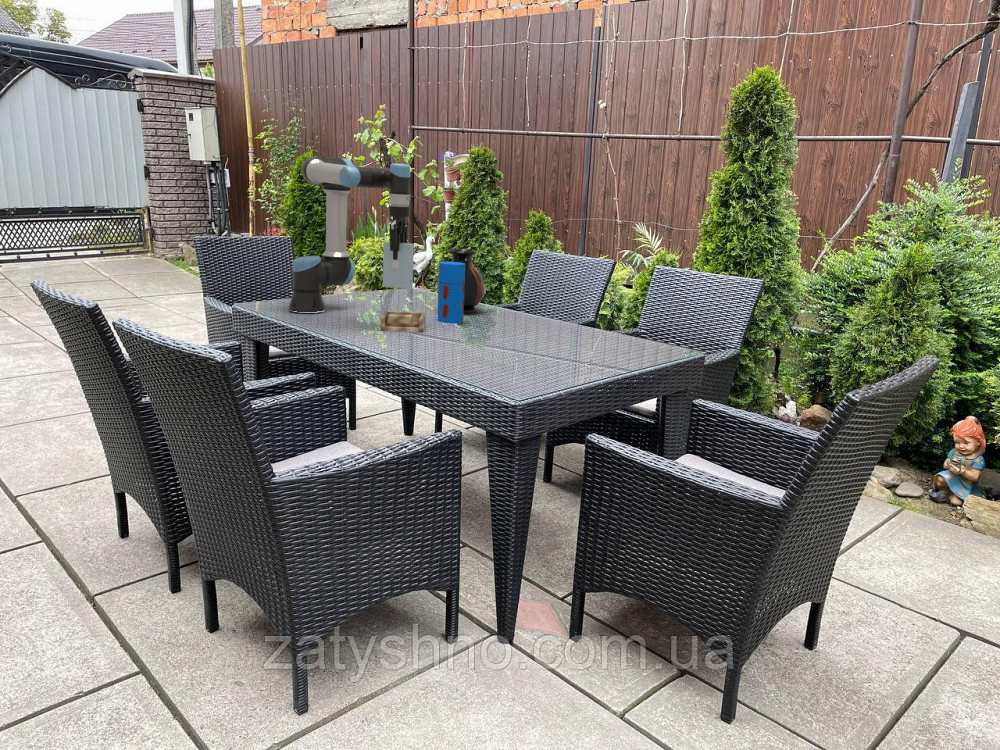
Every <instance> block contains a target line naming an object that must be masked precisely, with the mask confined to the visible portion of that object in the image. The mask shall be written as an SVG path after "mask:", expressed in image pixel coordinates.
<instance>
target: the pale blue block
mask: <svg viewBox="0 0 1000 750" xmlns="http://www.w3.org/2000/svg"><path fill="white" fill-rule="evenodd" d="M414 247H415V244H414V243H408V242H407V243H400V244H399V251H400V269H397V268H392V258H393V251H390V241H385V242H383V252H382V253H383V256H382V257H383V260H382V262H383V263H382V287H385V288H387V287H388V288H395V289H405V290H406V289H407V290H411V289H413V286H414V285H413V284H414V253H415V250H414V249H415V248H414Z"/></svg>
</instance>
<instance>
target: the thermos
mask: <svg viewBox="0 0 1000 750" xmlns="http://www.w3.org/2000/svg"><path fill="white" fill-rule="evenodd" d="M438 281H439V282H438ZM438 281H437V285H438V293H437V321H438V322H440V323H445V324H457V326H461V325H463V323H464V315H465V314H464V290H465V263H460V262H452V261H441V262H439V265H438Z"/></svg>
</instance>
